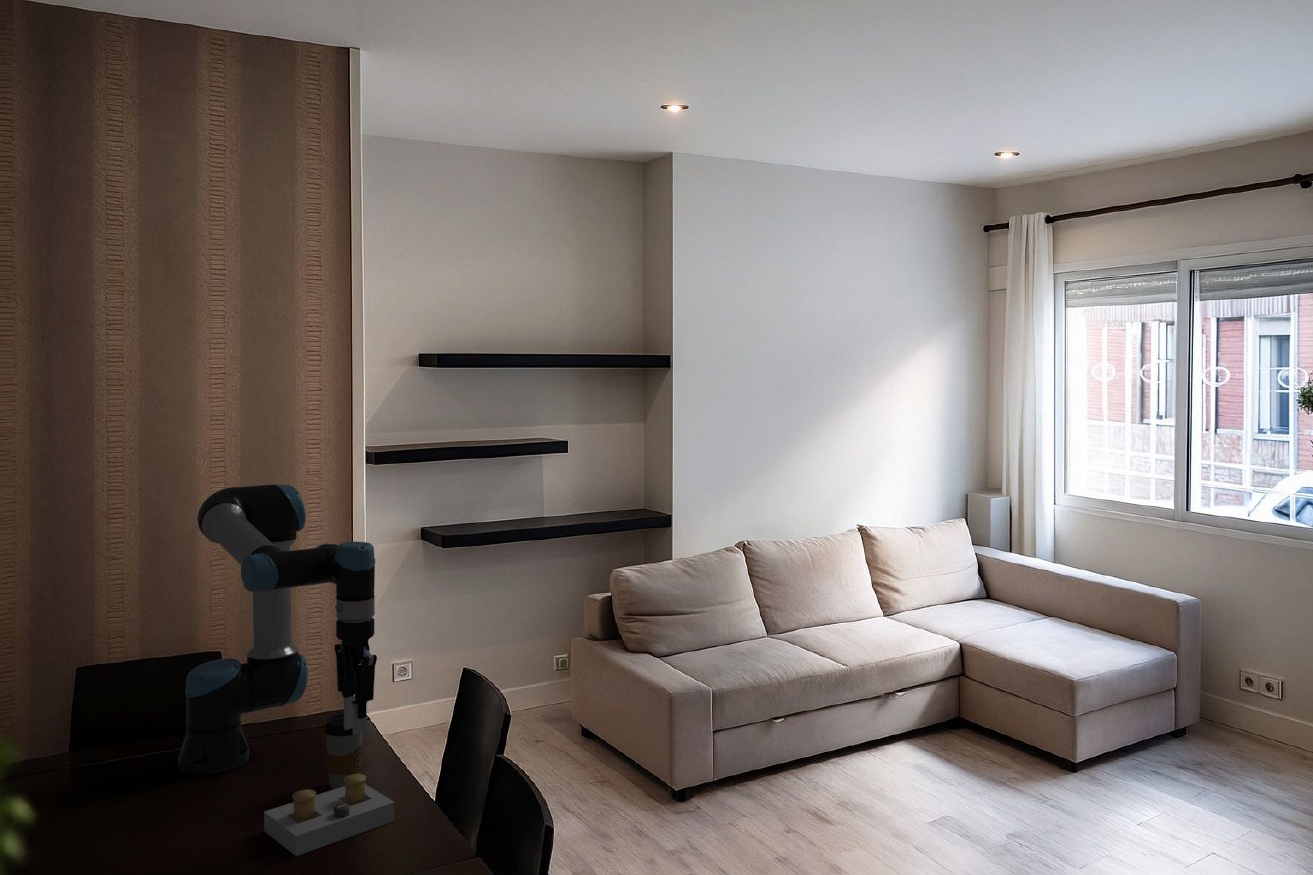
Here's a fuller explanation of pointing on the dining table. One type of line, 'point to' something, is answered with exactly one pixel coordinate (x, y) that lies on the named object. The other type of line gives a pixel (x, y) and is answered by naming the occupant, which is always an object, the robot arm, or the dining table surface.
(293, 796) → the knob
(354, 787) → the knob
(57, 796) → the dining table surface
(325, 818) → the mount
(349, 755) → the coffee cup
